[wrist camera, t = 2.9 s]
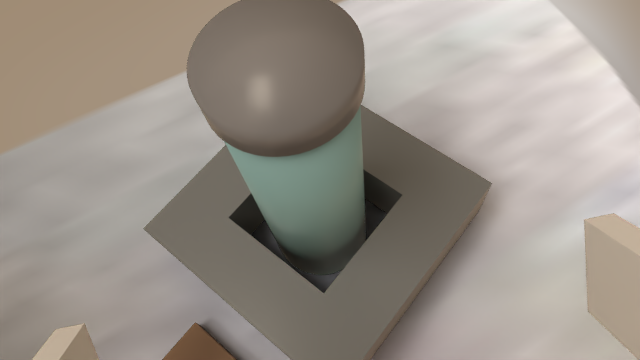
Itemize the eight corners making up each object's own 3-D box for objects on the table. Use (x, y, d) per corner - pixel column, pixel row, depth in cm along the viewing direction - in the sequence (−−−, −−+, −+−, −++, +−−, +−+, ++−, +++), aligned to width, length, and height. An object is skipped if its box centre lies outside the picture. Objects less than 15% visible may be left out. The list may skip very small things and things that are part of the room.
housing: (169, 251, 32) (143, 228, 28) (308, 104, 36) (300, 69, 32) (339, 401, 27) (334, 397, 23) (478, 211, 31) (491, 183, 27)
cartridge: (255, 240, 31) (150, 73, 17) (315, 173, 33) (268, -32, 18) (328, 298, 29) (282, 165, 15) (388, 223, 31) (400, 37, 16)
